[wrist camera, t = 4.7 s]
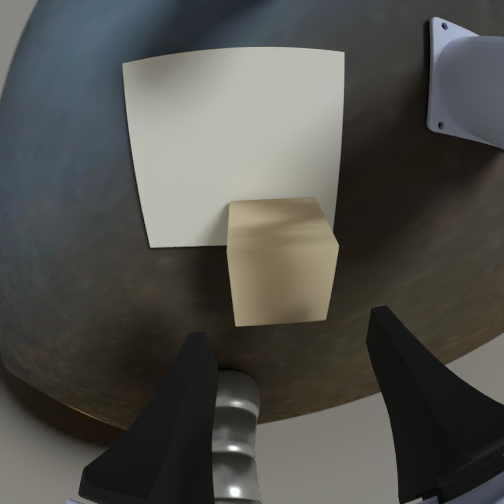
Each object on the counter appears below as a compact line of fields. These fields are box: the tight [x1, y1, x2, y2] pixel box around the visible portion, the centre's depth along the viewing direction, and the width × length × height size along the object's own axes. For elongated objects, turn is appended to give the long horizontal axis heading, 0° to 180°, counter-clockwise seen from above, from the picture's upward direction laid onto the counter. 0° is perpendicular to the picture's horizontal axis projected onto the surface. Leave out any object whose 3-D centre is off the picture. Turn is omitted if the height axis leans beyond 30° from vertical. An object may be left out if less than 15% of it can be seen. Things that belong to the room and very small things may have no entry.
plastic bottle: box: [212, 370, 262, 504], centre depth 21 cm, size 6×7×20 cm
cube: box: [227, 197, 339, 326], centre depth 16 cm, size 5×5×5 cm
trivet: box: [123, 47, 344, 248], centre depth 16 cm, size 12×12×1 cm
